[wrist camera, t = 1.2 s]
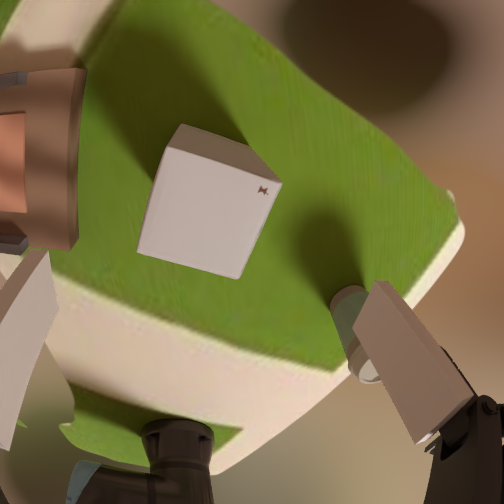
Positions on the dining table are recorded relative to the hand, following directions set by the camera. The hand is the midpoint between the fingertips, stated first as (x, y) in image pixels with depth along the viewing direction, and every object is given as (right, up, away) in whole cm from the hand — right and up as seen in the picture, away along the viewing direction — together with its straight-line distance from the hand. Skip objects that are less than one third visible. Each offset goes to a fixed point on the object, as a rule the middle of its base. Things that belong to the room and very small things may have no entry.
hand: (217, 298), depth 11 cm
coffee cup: (+15, -5, +30) cm, 34 cm away
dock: (-26, +12, +12) cm, 31 cm away
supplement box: (-3, +10, +17) cm, 21 cm away
